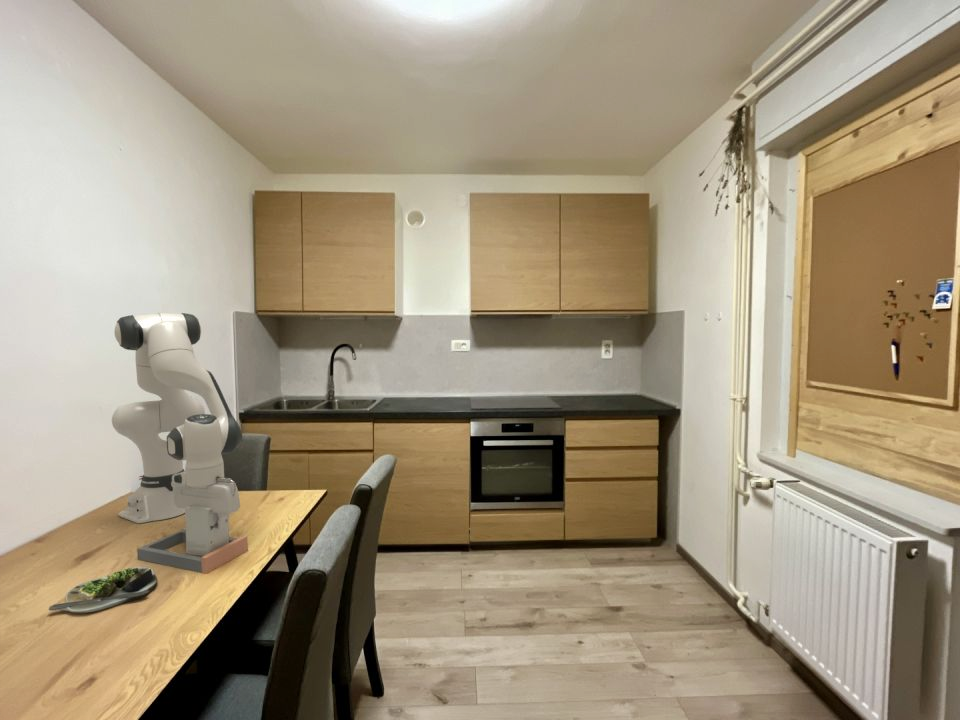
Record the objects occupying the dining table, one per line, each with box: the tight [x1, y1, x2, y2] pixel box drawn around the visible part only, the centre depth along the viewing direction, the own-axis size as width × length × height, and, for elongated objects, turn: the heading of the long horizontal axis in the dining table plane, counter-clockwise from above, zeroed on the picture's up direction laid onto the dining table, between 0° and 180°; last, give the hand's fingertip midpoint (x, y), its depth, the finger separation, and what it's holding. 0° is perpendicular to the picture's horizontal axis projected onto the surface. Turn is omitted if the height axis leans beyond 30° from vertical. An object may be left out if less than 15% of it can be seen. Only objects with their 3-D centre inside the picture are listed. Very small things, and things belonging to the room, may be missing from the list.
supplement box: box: [184, 505, 230, 557], centre depth 123 cm, size 7×7×13 cm
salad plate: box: [48, 566, 158, 614], centre depth 107 cm, size 19×18×5 cm
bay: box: [136, 528, 249, 575], centre depth 126 cm, size 25×13×4 cm, turn 71°
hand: (208, 526), depth 123 cm, fingers closed on supplement box, 8 cm apart
